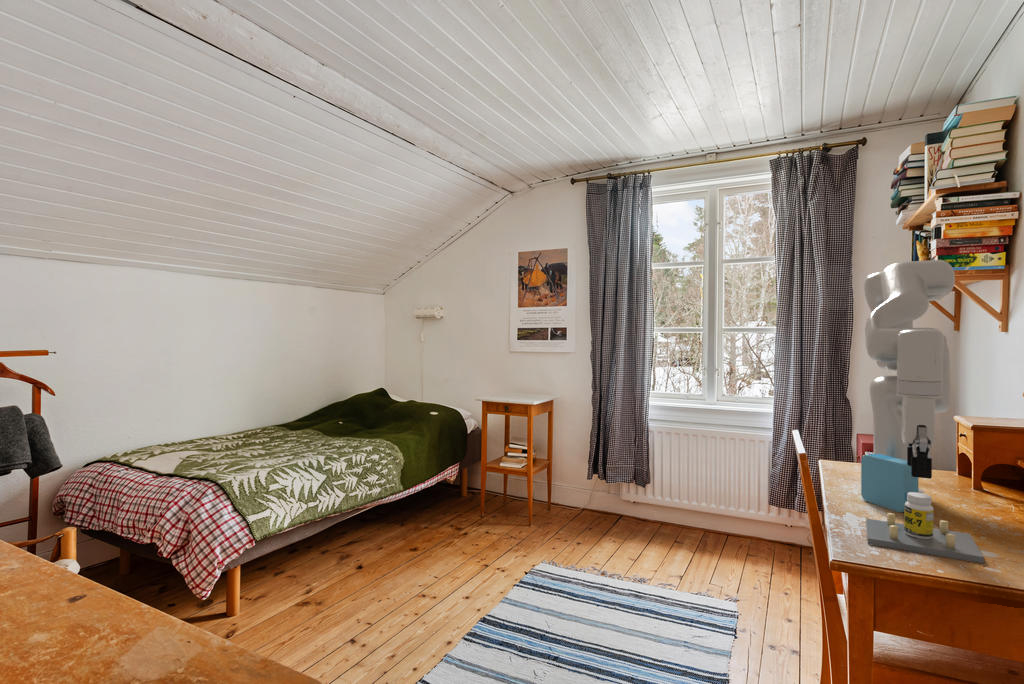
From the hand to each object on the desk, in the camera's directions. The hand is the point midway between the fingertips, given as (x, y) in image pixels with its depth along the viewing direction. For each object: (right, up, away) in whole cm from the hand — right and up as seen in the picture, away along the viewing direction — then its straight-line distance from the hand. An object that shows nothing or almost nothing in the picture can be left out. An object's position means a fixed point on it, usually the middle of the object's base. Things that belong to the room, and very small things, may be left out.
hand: (918, 471), depth 111 cm
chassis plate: (0, -14, 0) cm, 14 cm away
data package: (+10, -14, +23) cm, 29 cm away
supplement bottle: (0, -13, 0) cm, 13 cm away
